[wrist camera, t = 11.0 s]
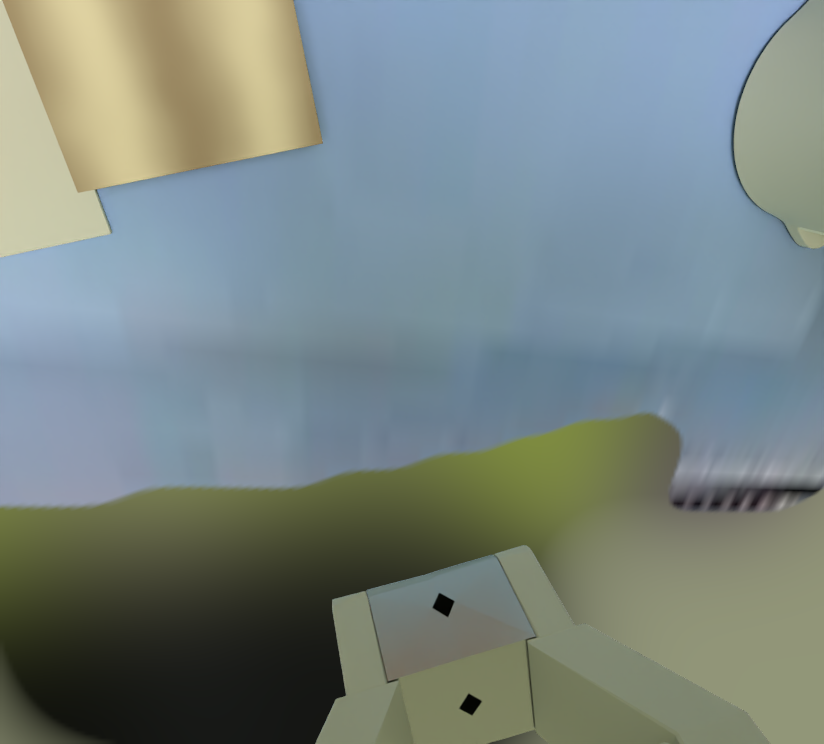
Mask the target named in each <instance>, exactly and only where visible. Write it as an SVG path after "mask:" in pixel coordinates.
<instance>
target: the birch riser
mask: <svg viewBox="0 0 824 744" xmlns="http://www.w3.org/2000/svg"><path fill="white" fill-rule="evenodd" d="M2 1H3V4H4V6H5V9H6V12H7V14H8V17H9V19H10V22H11V24H12V27H13V29H14V32H15V34H16V37H17V39H18V42H19V45H20V47H21V50H22V52H23V55H24V57H25V60H26V62H27V65H28V67H29V70H30V73H31V75H32V78H33V80H34V83H35V85H36V88H37V90H38V93H39V95H40V98H41V101H42V103H43V106H44V108H45V111H46V113H47V116H48V118H49V121H50V123H51V126H52V128H53V131H54V134H55V136H56V139H57V141H58V144H59V146H60V149H61V151H62V154H63V156H64V159H65V162H66V164H67V167H68V169H69V172H70V174H71V177H72V179H73V182H74V184H75V187H76V190H77V192H78V193H80V192H85V191H90V190H95V189H100V188H105V187H110V186H115V185H120V184H125V183H130V182H134V181H139V180H144V179H149V178H154V177H159V176H164V175H169V174H174V173H179V172H184V171H189V170H194V169H199V168H203V167H208V166H213V165H218V164H223V163H228V162H233V161H238V160H243V159H248V158H253V157H258V156H263V155H268V154H272V153H277V152H282V151H287V150H292V149H297V148H302V147H307V146H312V145H317V144H322V143H323V142H322V137H321V132H320V127H319V122H318V118H317V113H316V108H315V103H314V98H313V93H312V89H311V84H310V79H309V74H308V69H307V65H306V60H305V55H304V50H303V45H302V40H301V36H300V31H299V26H298V21H297V16H296V12H295V7H294V2H293V0H2Z"/></svg>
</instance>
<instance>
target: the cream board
mask: <svg viewBox="0 0 824 744" xmlns="http://www.w3.org/2000/svg"><path fill="white" fill-rule="evenodd" d="M111 233H112V230H111V228H110V225H109V223H108V220H107V217H106V215H105V212H104V209H103V207H102V204H101V201H100V199H99V196H98V194H97V191H96V189H95V190H90V191H85V192H80V193H78V192H77V190H76V187H75V184H74V182H73V179H72V177H71V174H70V172H69V169H68V167H67V164H66V162H65V159H64V156H63V154H62V151H61V149H60V146H59V144H58V141H57V139H56V136H55V134H54V131H53V128H52V126H51V123H50V121H49V118H48V116H47V113H46V111H45V108H44V106H43V103H42V101H41V98H40V95H39V93H38V90H37V88H36V85H35V83H34V80H33V78H32V75H31V73H30V70H29V67H28V65H27V62H26V60H25V57H24V55H23V52H22V50H21V47H20V45H19V42H18V39H17V37H16V34H15V32H14V29H13V27H12V24H11V22H10V19H9V17H8V14H7V12H6V9H5V6H4V4H3V1H2V0H0V257H5V256H9V255H14V254H19V253H23V252H28V251H33V250H37V249H42V248H47V247H51V246H56V245H61V244H66V243H70V242H75V241H80V240H84V239H89V238H94V237H98V236H103V235H108V234H111Z"/></svg>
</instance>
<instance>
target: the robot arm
mask: <svg viewBox="0 0 824 744" xmlns="http://www.w3.org/2000/svg"><path fill="white" fill-rule="evenodd" d="M734 156H735V163H736V168H737V172H738V175H739V178H740V181H741V183H742V185H743V187H744V189H745V191H746V192H747V194H748V195H749V197H750V198H751V199H752V200H753V201H754V202H755V203H756V204H757V205H758V206H759V207H760V208H761V209H763V210H764V211H766V212H768V213H770V214H772V215H773V216H775V217H777V218H779V219H780V220H782V221H783V222H784V223H785V225H786V227H787V229H788V231H789V232H790V234H791V236H792V238H793V239H794V241H795V242H796V243H797V244H798V245H800V246H802V247H807V248H811V249H816V248H820V247H822V246H824V0H809V1H808V2H807V3H806V4H805V5H804V6H803V7H802V8H801V9H800V10H799V11H798V12H797V13H796V14H795V15H794V16H793V17H792V18H791V19H790V20H789V21H788V22H787V23H786V24H785V25H784V26H783V27H782V28H781V29H780V30H779V31H778V32H777V34H776V35H775V36H774V37H773V38H772V40H771V41H770V42H769V44H768V45H767V47H766V48H765V50H764V51H763V52H762V54H761V56H760V57H759V59H758V61H757V62H756V64H755V66H754V68H753V70H752V72H751V74H750V76H749V79H748V81H747V83H746V86H745V88H744V91H743V94H742V97H741V100H740V104H739V107H738V112H737V116H736V122H735V130H734ZM367 594H368V597H367ZM368 599H369V600H368ZM332 602H333V603H332V611H333V617H334V622H335V629H336V635H337V641H338V647H339V654H340V659H341V665H342V672H343V678H344V684H345V690H346V696H344V697H341V698H338V699H336V700H335V703H334V705H333V707H332V709H331V711H330V713H329V715H328V718H327V720H326V722H325V724H324V726H323V728H322V731H321V733H320V735H319V737H318V739H317V741H316V743H315V744H487V743H491V742H494V741H497V740H501V739H504V738H508V737H511V736H514V735H518V734H521V733H524V732H528V731H531V730H535V729H536V733H537V734H538V735H539V736H541V737H542V738H543V739H544V740H545V741H547V742H548V743H549V744H770V742H769V741H768V740H767V738H766V737H765V736H764V735H763V733H762V732H761V730H760V729H759V728H758V726H757V725H756V724H755V723H754V721H753V720H752V719H751V717H750V716H749V715H748V713H747V712H745V711H744V710H742V709H740V708H738V707H736V706H735V705H733V704H731V703H729V702H727V701H725V700H724V699H722V698H720V697H718V696H716V695H714V694H713V693H711V692H709V691H707V690H705V689H704V688H702V687H700V686H698V685H696V684H694V683H693V682H691V681H689V680H687V679H685V678H684V677H682V676H680V675H678V674H676V673H674V672H672V671H671V670H669V669H667V668H665V667H663V666H662V665H660V664H658V663H656V662H654V661H652V660H650V659H649V658H647V657H645V656H643V655H642V654H640V653H638V652H636V651H634V650H633V649H631V648H629V647H627V646H625V645H623V644H622V643H619V642H618V641H616V640H614V639H613V638H611V637H609V636H607V635H605V634H603V633H601V632H600V631H598V630H596V629H594V628H592V627H590V626H589V625H587V624H581V625H577V626H575V625H574V623H573V622H572V620H571V618H570V616H569V615H568V613H567V611H566V609H565V608H564V606H563V604H562V602H561V601H560V599H559V597H558V596H557V594H556V592H555V591H554V589H553V587H552V585H551V584H550V582H549V580H548V578H547V577H546V575H545V573H544V571H543V570H542V568H541V566H540V564H539V563H538V561H537V559H536V557H535V556H534V554H533V552H532V551H531V549H530V548H529V547H527V546H526V545H523V546H520V547H517V548H513V549H509V550H506V551H503V552H499V553H496V554H494V556H493V555H490V556H486V557H483V558H479V559H476V560H472V561H469V562H466V563H462V564H459V565H456V566H452V567H449V568H445V569H442V570H439V571H435V572H432V573H430V574H427V575H423V576H419V577H415V578H411V579H408V580H404V581H400V582H396V583H392V584H388V585H384V586H380V587H377V588H372V589H369V590H367V593H366V591H364V592H360V593H356V594H352V595H349V596H345V597H341V598H336V599H333V601H332ZM369 603H370V604H369ZM370 607H371V608H370Z"/></svg>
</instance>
